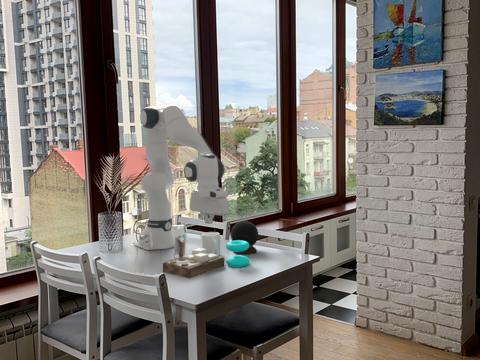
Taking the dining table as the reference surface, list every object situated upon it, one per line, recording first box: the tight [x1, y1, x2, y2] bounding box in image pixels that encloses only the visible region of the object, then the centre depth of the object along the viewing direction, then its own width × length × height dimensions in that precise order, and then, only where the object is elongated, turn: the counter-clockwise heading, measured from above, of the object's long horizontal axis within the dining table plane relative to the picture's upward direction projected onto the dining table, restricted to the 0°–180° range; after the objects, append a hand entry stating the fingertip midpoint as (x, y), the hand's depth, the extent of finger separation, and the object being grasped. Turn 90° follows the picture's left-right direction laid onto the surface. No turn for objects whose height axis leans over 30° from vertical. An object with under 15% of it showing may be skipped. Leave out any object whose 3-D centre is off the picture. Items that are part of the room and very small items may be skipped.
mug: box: [201, 231, 221, 256], centre depth 233 cm, size 12×8×10 cm
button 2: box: [194, 253, 209, 263], centre depth 212 cm, size 4×4×4 cm
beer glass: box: [172, 224, 188, 259], centre depth 231 cm, size 7×7×15 cm
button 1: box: [182, 253, 194, 260], centre depth 217 cm, size 4×4×4 cm
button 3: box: [191, 247, 207, 255], centre depth 221 cm, size 4×4×4 cm
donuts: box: [225, 240, 250, 268], centre depth 218 cm, size 10×10×10 cm
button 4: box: [208, 253, 218, 259], centre depth 217 cm, size 4×4×4 cm
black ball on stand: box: [230, 220, 259, 256], centre depth 240 cm, size 13×13×15 cm
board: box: [161, 255, 226, 279], centre depth 214 cm, size 16×21×4 cm
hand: (208, 223), depth 216 cm, fingers closed
